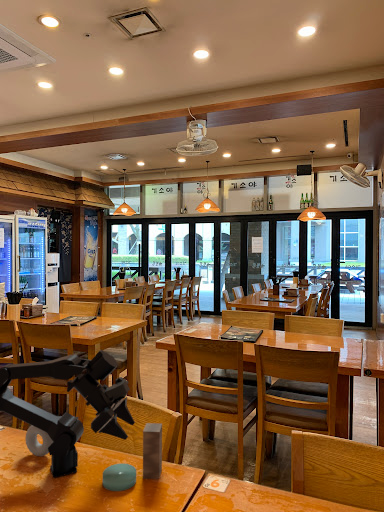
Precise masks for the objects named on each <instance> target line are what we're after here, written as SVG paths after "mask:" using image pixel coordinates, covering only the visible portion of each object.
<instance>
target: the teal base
mask: <svg viewBox="0 0 384 512" xmlns="http://www.w3.org/2000/svg"><path fill="white" fill-rule="evenodd" d="M136 482H137V468H136V467H135V466H134V465H131V464H129V463H115V464H113V465H110V466H108V467H106V468H105V469H104V470H103V472H102V486H103V488H105V490H108V491H112V492H122V491H123V492H124V491H126V490H128V489H131V488H132V487H134V486H135V484H136Z"/></svg>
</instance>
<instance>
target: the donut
mask: <svg viewBox="0 0 384 512" xmlns="http://www.w3.org/2000/svg"><path fill="white" fill-rule="evenodd" d="M38 436H40V437H41V438H42V443H40V442H39V440H38ZM24 440H25V445H26V447H27V449H28V450H29V452H30V453H31V454H32V455H34V456H36V457H43V456H46V455H48V454H49V451H48V447H49V446H50V445H51V444H52V443H53V441H52V440H51V438H50V437H49V435H48V434H47V433H46V432H45V431H43V430H41V429H38V428H36V427H34V426H32V425H30V426H29V427H28V429H27V431H26V433H25V439H24Z"/></svg>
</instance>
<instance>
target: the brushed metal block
mask: <svg viewBox="0 0 384 512" xmlns="http://www.w3.org/2000/svg"><path fill="white" fill-rule="evenodd" d="M162 459H163V423H157V422H156V423H154V422H151V423H149V422H146V423H145V426H144V428H143V431H142V479H144V480H146V479H147V480H149V479H150V480H160V478H161V473H162V469H163V460H162Z"/></svg>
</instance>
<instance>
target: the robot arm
mask: <svg viewBox="0 0 384 512" xmlns="http://www.w3.org/2000/svg"><path fill="white" fill-rule="evenodd" d="M117 367H118V361H117V360H116V358H115V357H114V356H113V355H110V354H109V353H108V352H105V351H104V350H103V349H100V350H98V352H97V353H96V354H95V356H94V357H93V358H92V359H86V358H81V357H79V356H78V354H68V355H66V356H62V357H58V358H55V359H52V360H49V361H36V362H34V361H33V362H25V363H23V362H22V363H8V364H6V365H3V366H2V367H1V368H0V412H4V413H5V414H7V415H8V416H9V415H10V416H11V417H14V418H16V419H18V420H19V421H22V422H24V423H26V424H28V425H30V426H31V425H32V426H34V427H36V428H38V429H41V430H43V431H45V432H46V433H47V434H48V435H49V437H50V438H51V440H52V441H53V443H52V444H51V445H50V446H49V447H48V451H49V453H48V454H49V456H51V457H50V458H51V459H50V460H51V462H50V463H51V464H50V466H49V469H50V471H51V474H52V478H59V477H63V476H66V475H71V474H75V473H78V469H77V467H78V463H79V462H78V460H79V458H78V456H79V453H78V450H77V448H76V446H75V445H76V444H77V442H78V441H79V439H80V438H81V437H82V436H83V434H84V430H85V427H84V425H83V422H82V421H81V420H80V419H79V416H74V415H72V414H70V413H69V412H66V411H65V412H64V413H63V414H62V416H61V415H60V416H59V415H55V414H53V413H51V412H48V411H47V410H44V409H43V408H40V407H38V406H36V405H34V404H32V403H30V402H28V401H25V400H23V399H21V398H19V397H17V396H15V395H13V394H14V393H12V390H11V389H10V388H9V386H10V384H11V382H12V380H21V379H32V378H33V379H34V378H42V377H45V378H46V377H48V378H51V379H55V380H64V381H67V382H66V384H67V387H66V392H67V393H70V392H71V391H72V390H73V389H75V390H76V391H77V392H78V393H79V395H81V396H82V398H83V399H84V400H85V401H86V402H85V405H86V406H87V407H89V406H91V407H92V408H93V409H94V410H95V411H96V413H95V415H96V417H94V418H93V420H92V421H91V423H90V429H91V430H92V431H93V433H95V434H97V433H99V434H101V433H102V434H105V435H110V436H112V437H116V438H119V439H121V440H125V441H126V440H127V439H129V438H128V437H129V436H128V434H127V432H126V431H125V429H124V428H123V427H122V426H121V425H120V424H119V421H118V419H119V420H121V421H123V422H125V423H127V424H128V425H130V426H134V425H135V423H136V421H135V419H134V418H133V415H132V413H131V412H130V410H129V407H128V406H127V402H128V397H127V395H128V392H129V391H130V390H131V389H130V387H129V385H128V384H129V381H128V380H127V379H125V378H123V377H122V376H120V377H117V378H116V379H115V383H113V384H112V385H111V386H108V385H107V384H105V383H104V384H103V385H102V384H101V383H100V382H99V381H104V380H105V379H107V377H108V376H109V375H111V374H112V373H113V372H114V371H115V369H116V368H117ZM85 370H87V371H86V372H85ZM83 372H85V373H83ZM76 375H77V376H76ZM74 376H76V377H74ZM73 377H74V379H72V378H73Z"/></svg>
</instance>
